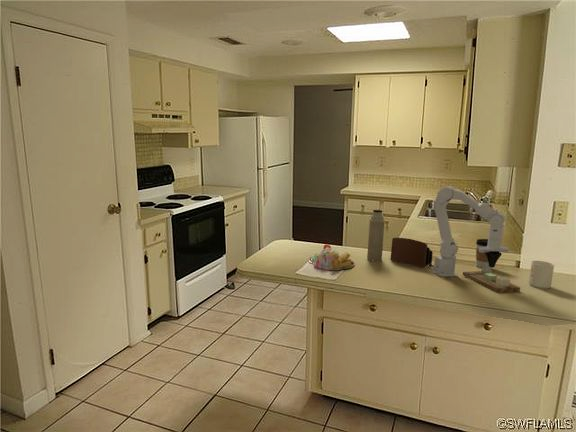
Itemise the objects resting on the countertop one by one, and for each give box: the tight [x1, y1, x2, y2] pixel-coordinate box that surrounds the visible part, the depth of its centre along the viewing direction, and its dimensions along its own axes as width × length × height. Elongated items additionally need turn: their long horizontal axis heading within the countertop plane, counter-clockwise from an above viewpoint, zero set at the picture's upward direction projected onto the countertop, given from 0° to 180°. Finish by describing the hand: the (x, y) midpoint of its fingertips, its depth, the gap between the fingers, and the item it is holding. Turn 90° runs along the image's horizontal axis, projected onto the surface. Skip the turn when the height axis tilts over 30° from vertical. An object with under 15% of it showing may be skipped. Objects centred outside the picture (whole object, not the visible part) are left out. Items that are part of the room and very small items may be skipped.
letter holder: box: [389, 237, 434, 269], centre depth 218 cm, size 10×20×14 cm, turn 49°
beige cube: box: [495, 276, 511, 287], centre depth 180 cm, size 4×4×4 cm
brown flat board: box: [462, 270, 521, 294], centre depth 188 cm, size 12×24×2 cm, turn 12°
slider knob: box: [480, 264, 493, 273], centre depth 196 cm, size 3×4×4 cm
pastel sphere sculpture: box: [308, 243, 356, 271], centre depth 211 cm, size 25×24×9 cm
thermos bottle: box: [366, 209, 386, 262], centre depth 221 cm, size 8×8×28 cm
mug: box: [528, 260, 555, 290], centre depth 187 cm, size 12×9×11 cm
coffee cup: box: [475, 238, 489, 268], centre depth 214 cm, size 8×8×15 cm
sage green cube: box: [484, 272, 498, 281], centre depth 188 cm, size 4×4×4 cm
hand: (491, 266), depth 187 cm, fingers closed
